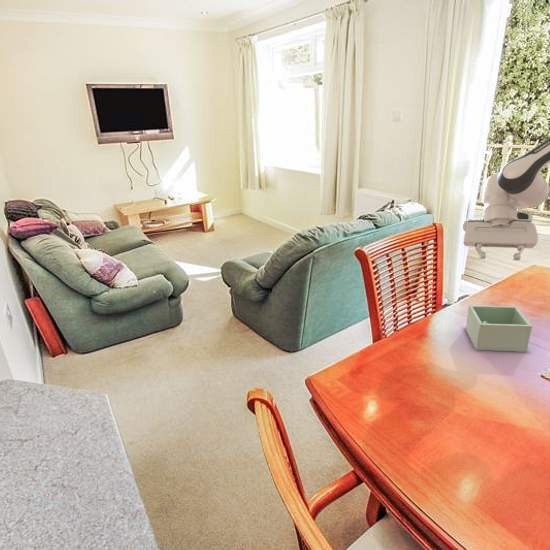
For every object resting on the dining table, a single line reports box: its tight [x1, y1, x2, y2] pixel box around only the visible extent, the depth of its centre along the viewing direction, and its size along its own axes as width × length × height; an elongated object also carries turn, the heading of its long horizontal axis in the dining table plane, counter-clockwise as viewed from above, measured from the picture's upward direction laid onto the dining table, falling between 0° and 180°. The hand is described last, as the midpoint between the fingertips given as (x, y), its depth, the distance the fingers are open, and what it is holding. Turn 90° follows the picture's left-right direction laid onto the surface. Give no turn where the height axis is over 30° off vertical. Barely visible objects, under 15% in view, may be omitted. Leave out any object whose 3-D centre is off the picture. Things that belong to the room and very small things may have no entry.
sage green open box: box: [465, 304, 533, 353], centre depth 114 cm, size 14×12×9 cm
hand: (499, 259), depth 116 cm, fingers open, 8 cm apart
